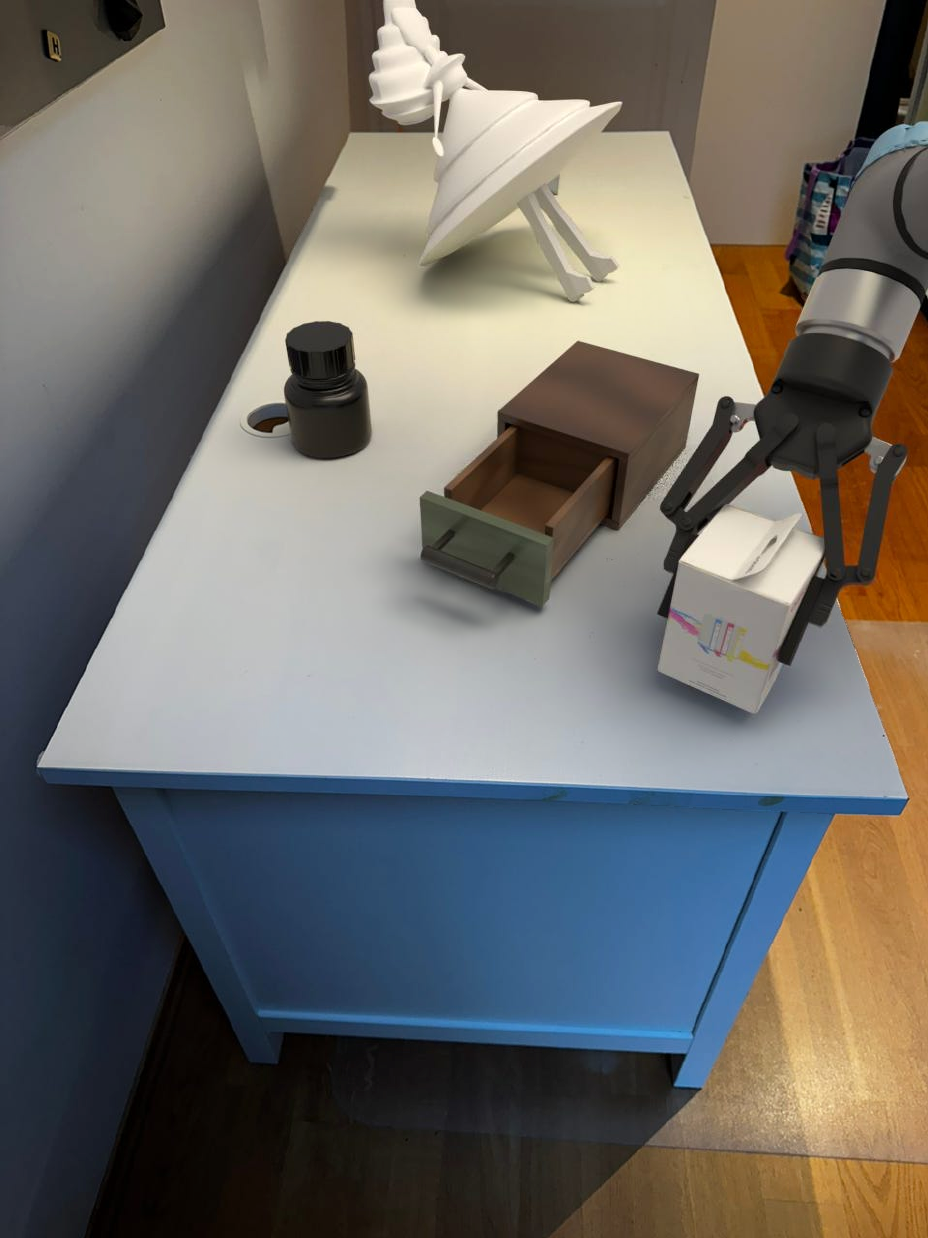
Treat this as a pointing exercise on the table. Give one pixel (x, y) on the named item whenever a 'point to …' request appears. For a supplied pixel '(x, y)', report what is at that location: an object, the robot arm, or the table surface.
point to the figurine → (487, 146)
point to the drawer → (518, 512)
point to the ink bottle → (326, 391)
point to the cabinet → (611, 415)
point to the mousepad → (554, 185)
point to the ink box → (738, 604)
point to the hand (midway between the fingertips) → (722, 639)
